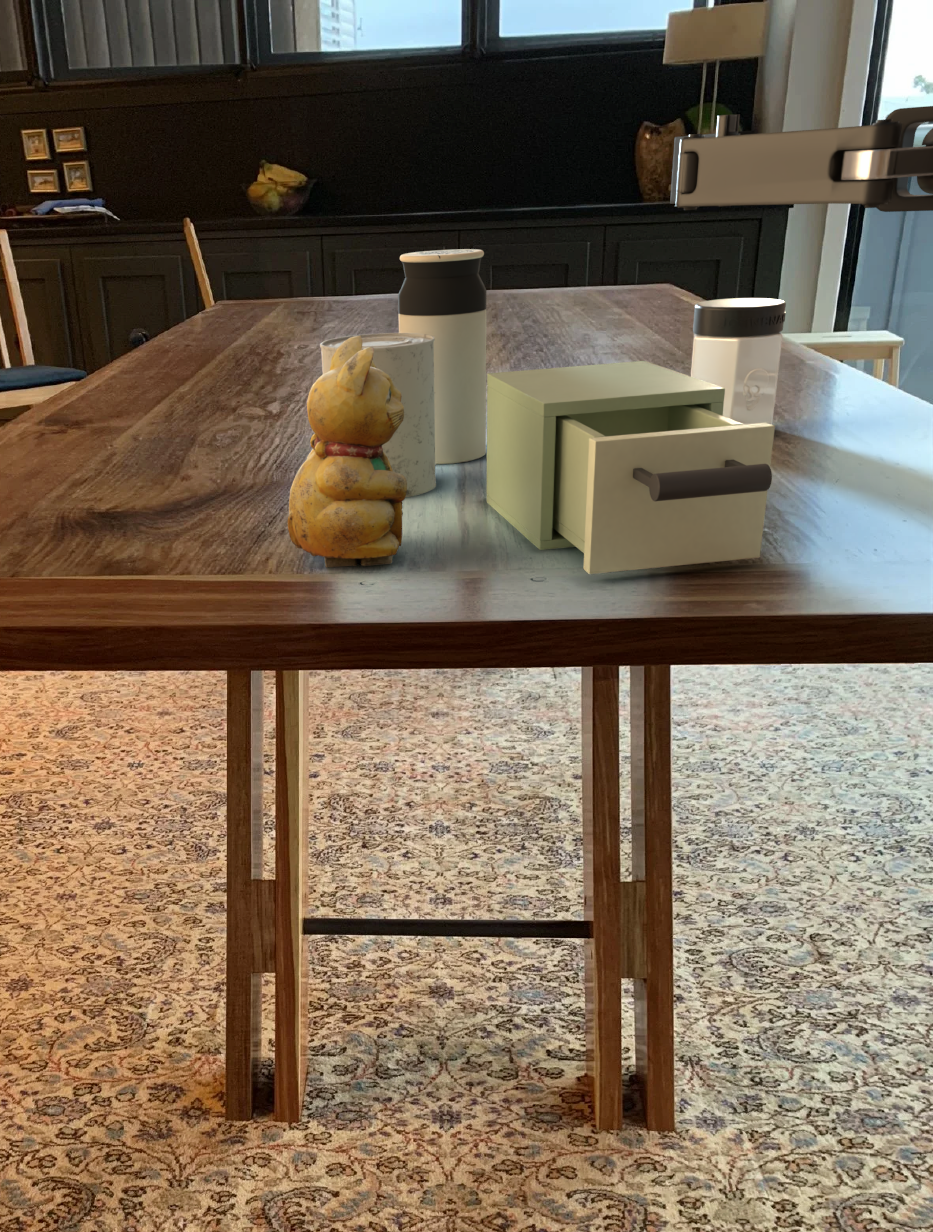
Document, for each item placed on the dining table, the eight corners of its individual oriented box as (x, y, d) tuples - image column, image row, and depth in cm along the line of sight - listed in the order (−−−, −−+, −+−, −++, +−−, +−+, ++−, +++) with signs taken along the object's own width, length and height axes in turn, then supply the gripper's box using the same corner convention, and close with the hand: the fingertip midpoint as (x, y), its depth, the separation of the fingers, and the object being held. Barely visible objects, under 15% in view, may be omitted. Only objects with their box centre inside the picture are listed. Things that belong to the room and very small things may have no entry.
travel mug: (458, 446, 120) (457, 248, 111) (501, 459, 113) (504, 250, 105) (387, 457, 117) (381, 255, 108) (428, 471, 110) (424, 257, 102)
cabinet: (711, 537, 87) (725, 388, 82) (539, 553, 85) (543, 403, 80) (636, 491, 100) (644, 360, 95) (486, 505, 98) (487, 373, 94)
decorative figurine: (421, 574, 83) (416, 343, 76) (304, 588, 81) (288, 354, 74) (386, 538, 91) (379, 327, 84) (279, 550, 90) (263, 337, 83)
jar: (708, 446, 113) (721, 310, 107) (665, 432, 120) (674, 303, 114) (792, 437, 115) (809, 302, 109) (744, 423, 122) (758, 295, 116)
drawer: (795, 578, 74) (813, 440, 70) (615, 597, 73) (623, 457, 69) (677, 508, 90) (686, 392, 86) (528, 522, 89) (531, 405, 85)
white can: (430, 502, 100) (428, 346, 94) (318, 503, 102) (309, 350, 96) (442, 476, 108) (440, 331, 103) (338, 477, 110) (331, 335, 104)
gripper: (766, 306, 38) (558, 267, 57) (1468, 252, 40) (1047, 231, 59) (796, 26, 34) (564, 82, 53) (1562, -15, 37) (1083, 53, 56)
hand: (818, 161), depth 56 cm, fingers open, 13 cm apart
